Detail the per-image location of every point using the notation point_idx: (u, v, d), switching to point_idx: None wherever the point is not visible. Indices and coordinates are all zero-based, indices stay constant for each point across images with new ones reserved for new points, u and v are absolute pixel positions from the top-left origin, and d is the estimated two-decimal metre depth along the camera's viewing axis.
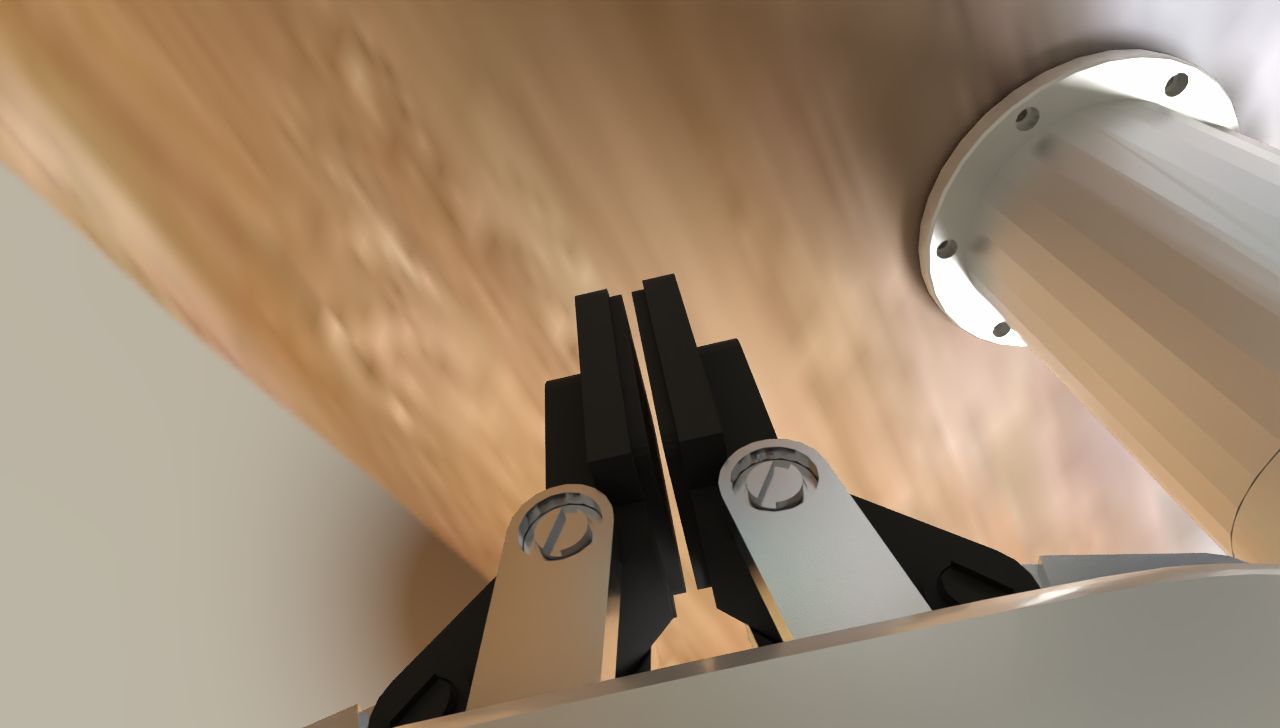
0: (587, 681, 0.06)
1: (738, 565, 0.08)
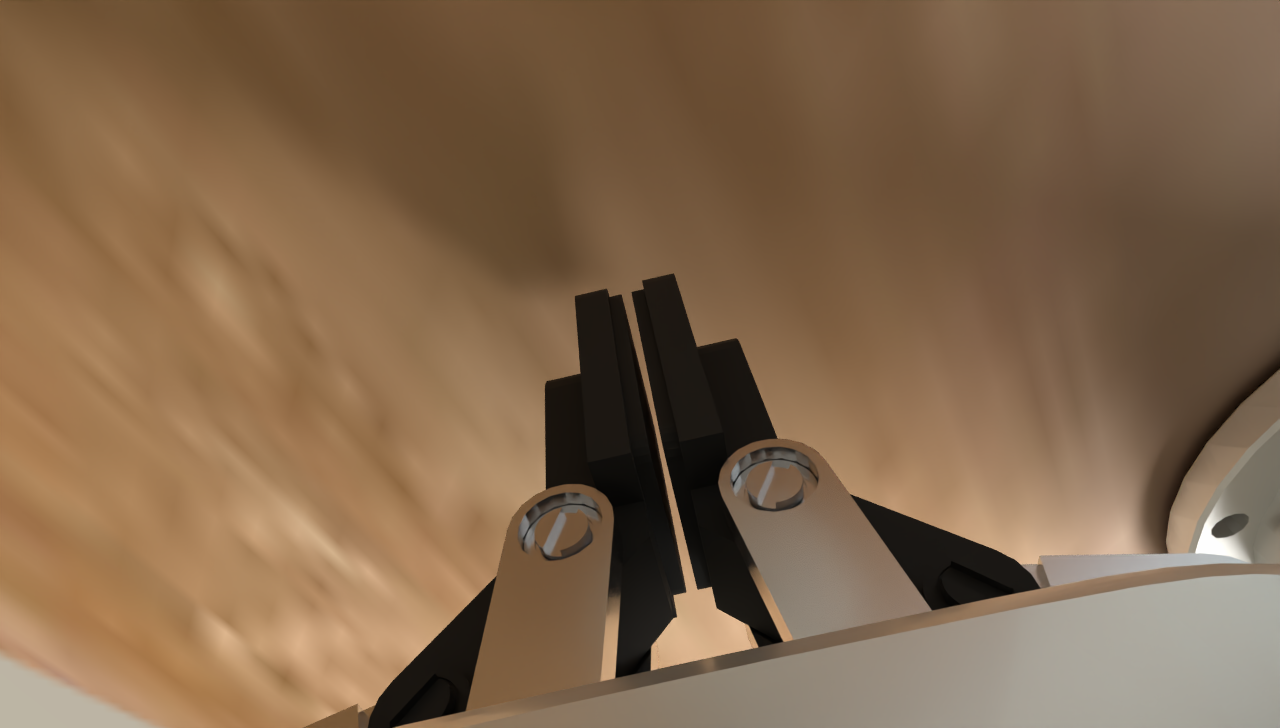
0: (587, 681, 0.06)
1: (738, 565, 0.08)
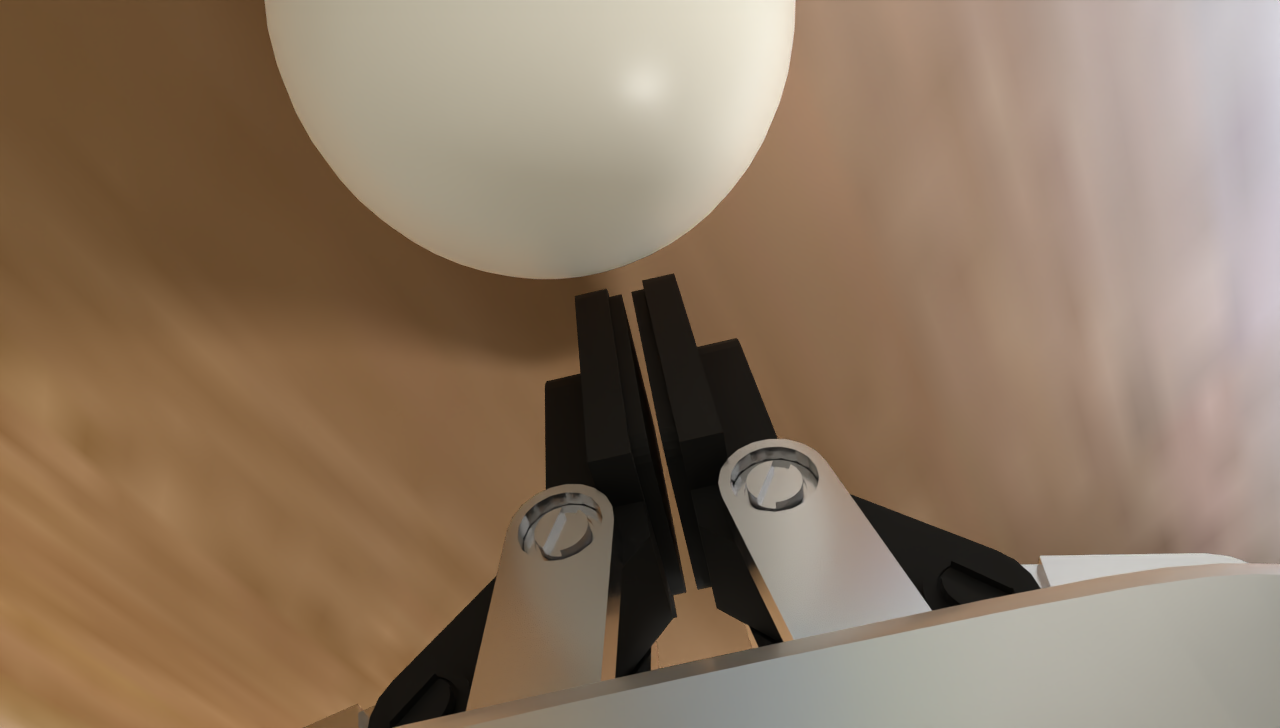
0: (587, 681, 0.06)
1: (738, 565, 0.08)
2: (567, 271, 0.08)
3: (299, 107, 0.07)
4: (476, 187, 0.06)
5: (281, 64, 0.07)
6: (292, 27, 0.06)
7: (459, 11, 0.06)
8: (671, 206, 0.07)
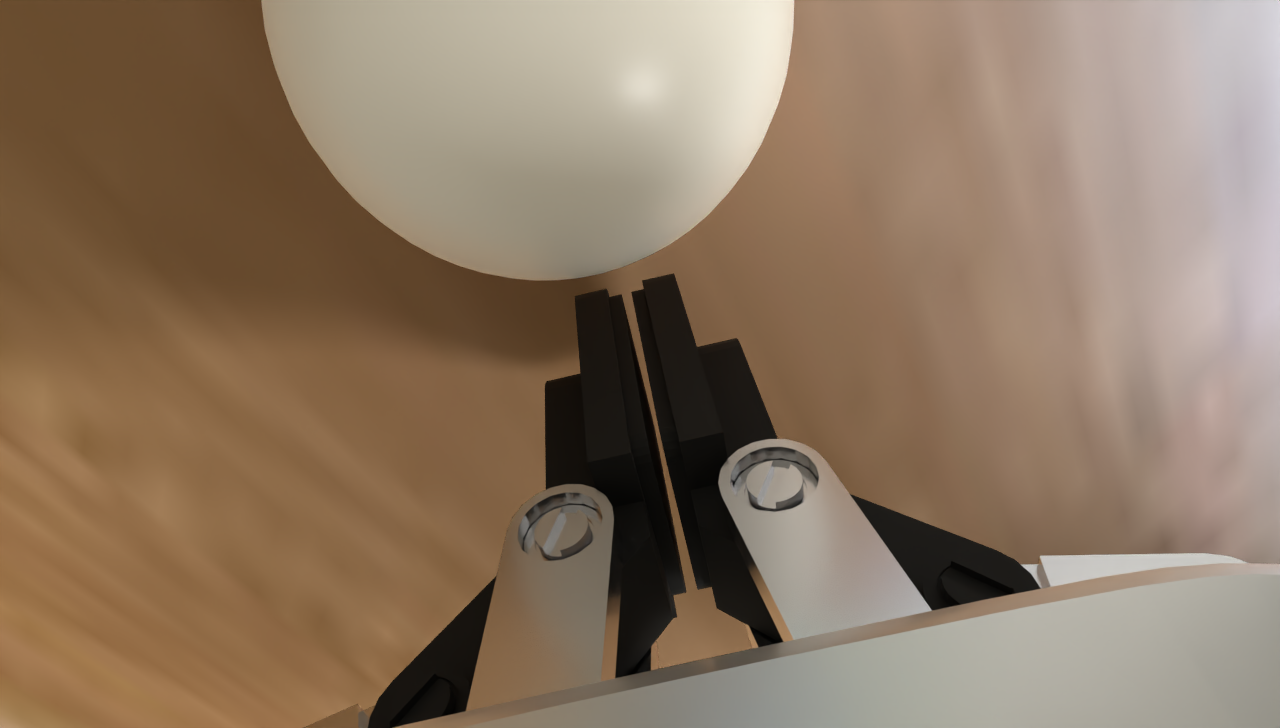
0: (587, 681, 0.06)
1: (738, 565, 0.08)
2: (565, 272, 0.08)
3: (296, 108, 0.07)
4: (473, 187, 0.06)
5: (278, 65, 0.07)
6: (289, 28, 0.06)
7: (456, 12, 0.06)
8: (670, 208, 0.07)
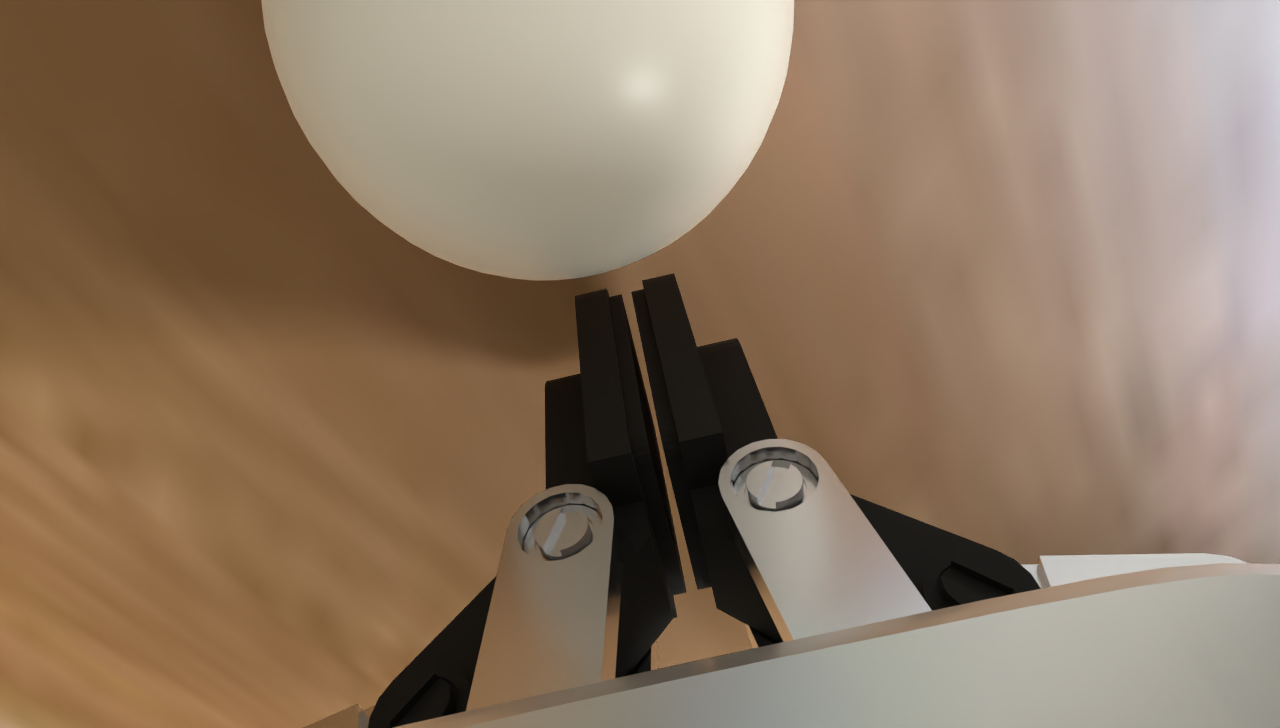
0: (587, 681, 0.06)
1: (738, 565, 0.08)
2: (565, 272, 0.08)
3: (296, 108, 0.07)
4: (473, 187, 0.06)
5: (278, 65, 0.07)
6: (289, 28, 0.06)
7: (456, 12, 0.06)
8: (670, 208, 0.07)
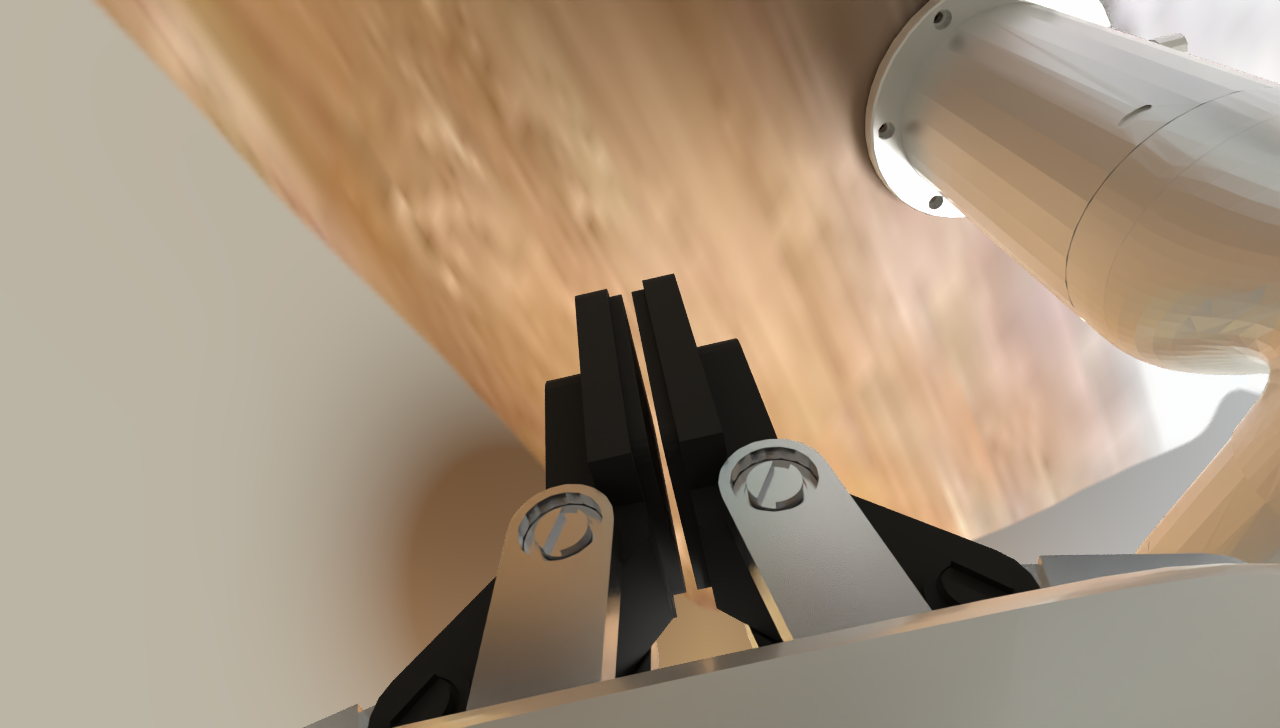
0: (587, 681, 0.06)
1: (738, 565, 0.08)
2: None
3: None
4: None
5: None
6: None
7: None
8: None
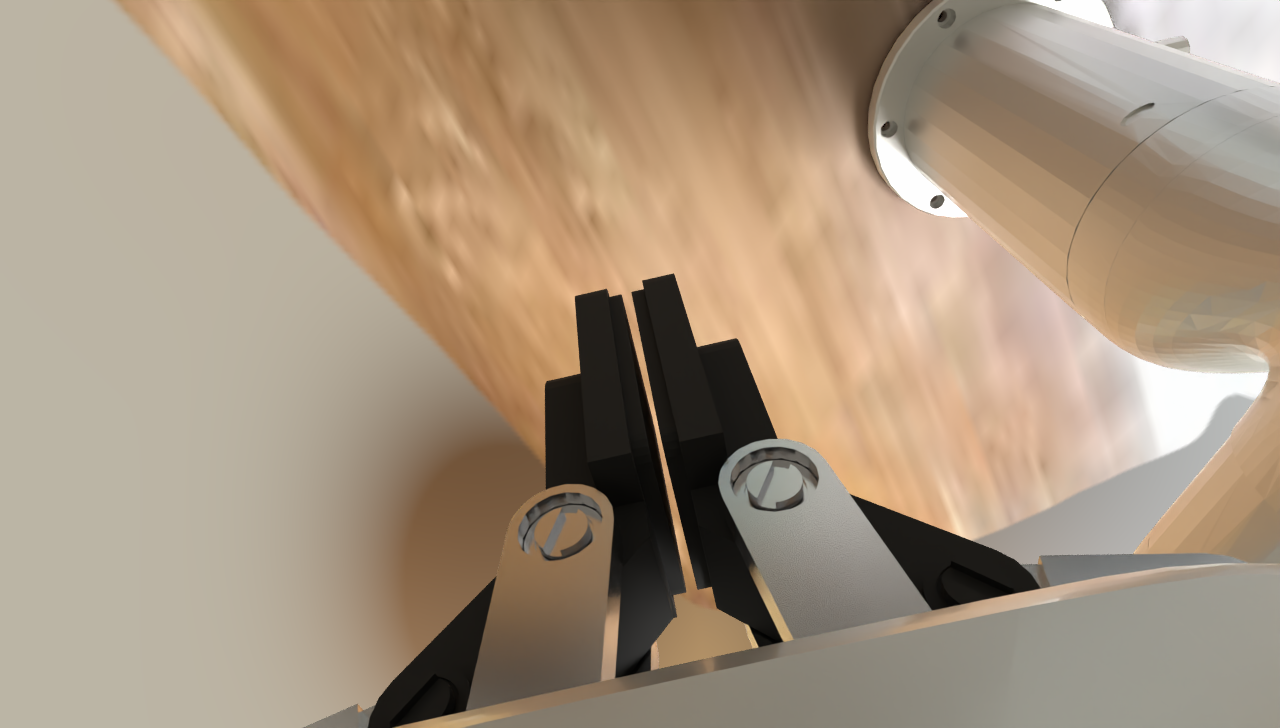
0: (587, 681, 0.06)
1: (738, 565, 0.08)
2: None
3: None
4: None
5: None
6: None
7: None
8: None
